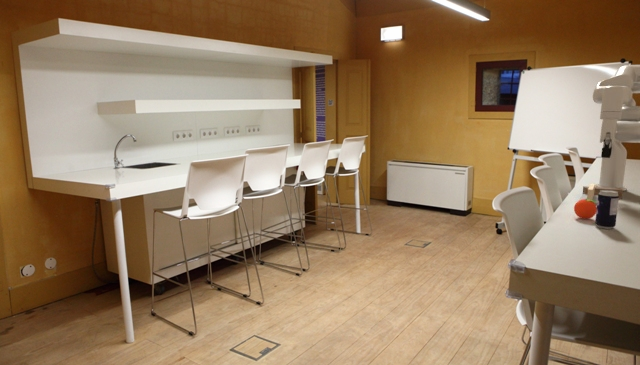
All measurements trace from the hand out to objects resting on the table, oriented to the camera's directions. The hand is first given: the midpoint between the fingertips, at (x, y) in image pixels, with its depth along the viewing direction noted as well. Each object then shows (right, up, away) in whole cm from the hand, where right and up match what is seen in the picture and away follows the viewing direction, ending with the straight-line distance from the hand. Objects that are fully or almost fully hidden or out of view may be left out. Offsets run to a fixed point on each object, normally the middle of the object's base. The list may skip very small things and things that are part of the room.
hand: (606, 156), depth 196 cm
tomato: (-29, -24, -35) cm, 51 cm away
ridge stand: (-10, -19, -5) cm, 22 cm away
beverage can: (-29, -26, -45) cm, 60 cm away
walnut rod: (0, -17, +3) cm, 18 cm away
